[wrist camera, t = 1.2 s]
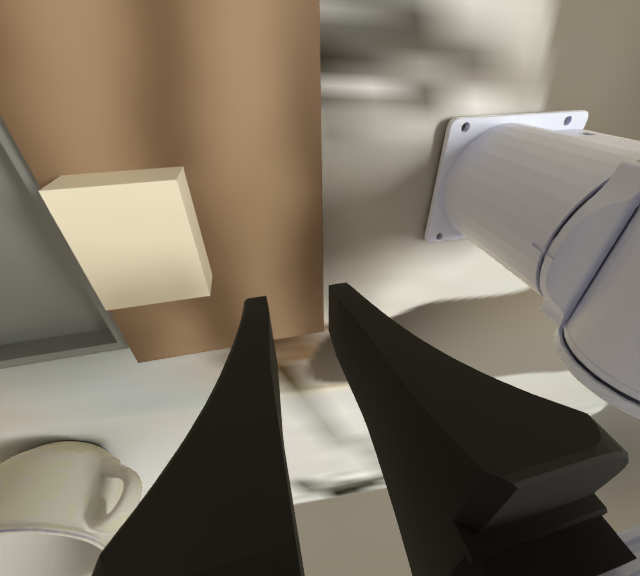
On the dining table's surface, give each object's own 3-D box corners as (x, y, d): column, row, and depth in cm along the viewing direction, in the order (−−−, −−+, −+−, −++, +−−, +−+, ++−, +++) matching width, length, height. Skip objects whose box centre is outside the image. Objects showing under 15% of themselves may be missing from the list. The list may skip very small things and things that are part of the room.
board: (306, -2, 14) (319, -13, 12) (316, 309, 24) (323, 331, 22) (-23, -6, 12) (-75, -19, 10) (146, 336, 22) (138, 362, 20)
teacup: (50, 497, 31) (5, 607, 25) (-46, 450, 25) (-141, 583, 18) (186, 455, 32) (175, 551, 26) (129, 398, 26) (95, 508, 19)
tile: (182, 166, 14) (176, 179, 13) (212, 274, 18) (210, 295, 16) (61, 175, 13) (37, 190, 12) (117, 287, 17) (105, 310, 15)
